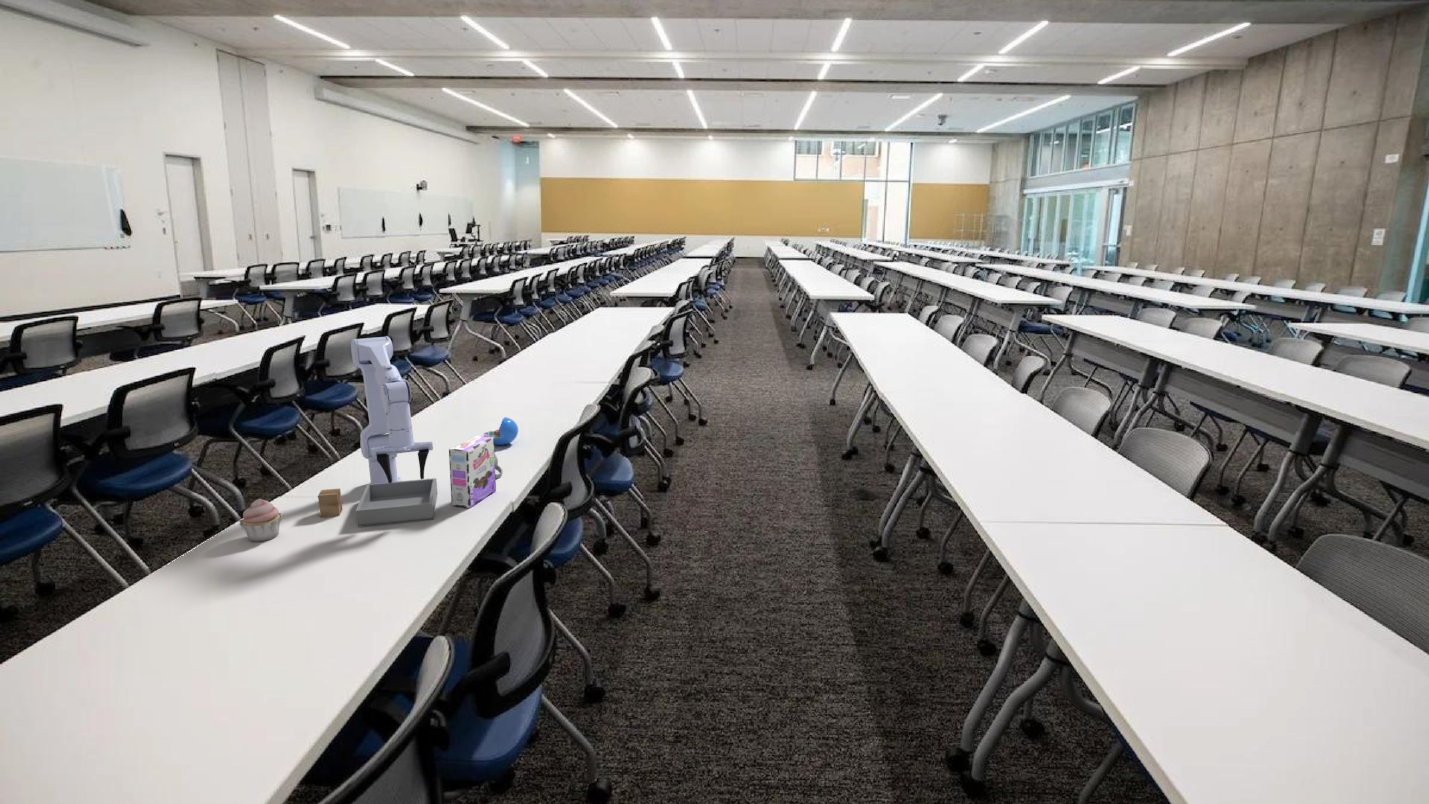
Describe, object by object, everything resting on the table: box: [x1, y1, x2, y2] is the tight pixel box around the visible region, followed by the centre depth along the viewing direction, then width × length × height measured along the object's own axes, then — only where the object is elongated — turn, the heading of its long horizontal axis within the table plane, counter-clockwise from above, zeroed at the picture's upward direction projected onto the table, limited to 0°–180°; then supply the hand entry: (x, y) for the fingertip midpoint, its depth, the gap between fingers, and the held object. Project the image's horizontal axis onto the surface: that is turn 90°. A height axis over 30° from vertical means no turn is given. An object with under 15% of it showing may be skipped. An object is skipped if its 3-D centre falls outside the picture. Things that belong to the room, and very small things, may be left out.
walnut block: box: [317, 488, 343, 518], centre depth 197 cm, size 4×4×6 cm
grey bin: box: [355, 477, 438, 528], centre depth 200 cm, size 20×18×4 cm
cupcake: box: [238, 498, 284, 542], centre depth 182 cm, size 9×9×10 cm
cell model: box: [482, 416, 519, 446], centre depth 257 cm, size 10×12×10 cm
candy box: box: [448, 435, 497, 509], centre depth 206 cm, size 14×6×16 cm, turn 165°
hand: (406, 480), depth 192 cm, fingers open, 7 cm apart
